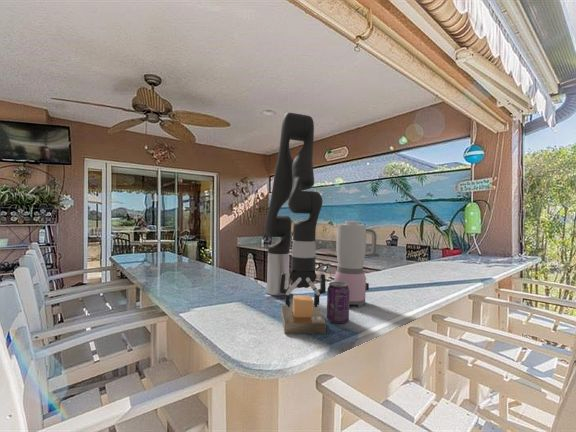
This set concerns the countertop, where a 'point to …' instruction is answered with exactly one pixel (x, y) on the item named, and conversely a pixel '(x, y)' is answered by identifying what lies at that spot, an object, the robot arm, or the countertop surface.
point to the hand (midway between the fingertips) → (302, 306)
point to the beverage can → (338, 302)
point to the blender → (353, 258)
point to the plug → (302, 306)
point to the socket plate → (302, 322)
